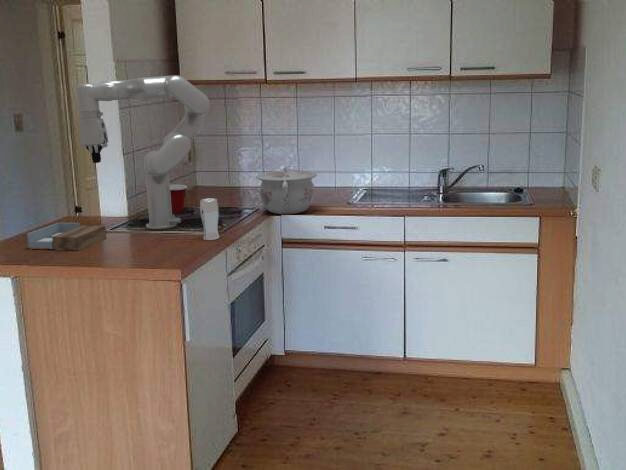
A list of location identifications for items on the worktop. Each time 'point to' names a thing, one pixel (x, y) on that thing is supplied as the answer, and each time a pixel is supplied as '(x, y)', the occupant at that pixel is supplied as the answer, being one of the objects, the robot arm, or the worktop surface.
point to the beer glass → (209, 218)
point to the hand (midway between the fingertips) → (97, 162)
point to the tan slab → (79, 237)
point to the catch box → (48, 234)
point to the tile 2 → (46, 240)
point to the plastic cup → (177, 197)
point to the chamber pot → (287, 191)
